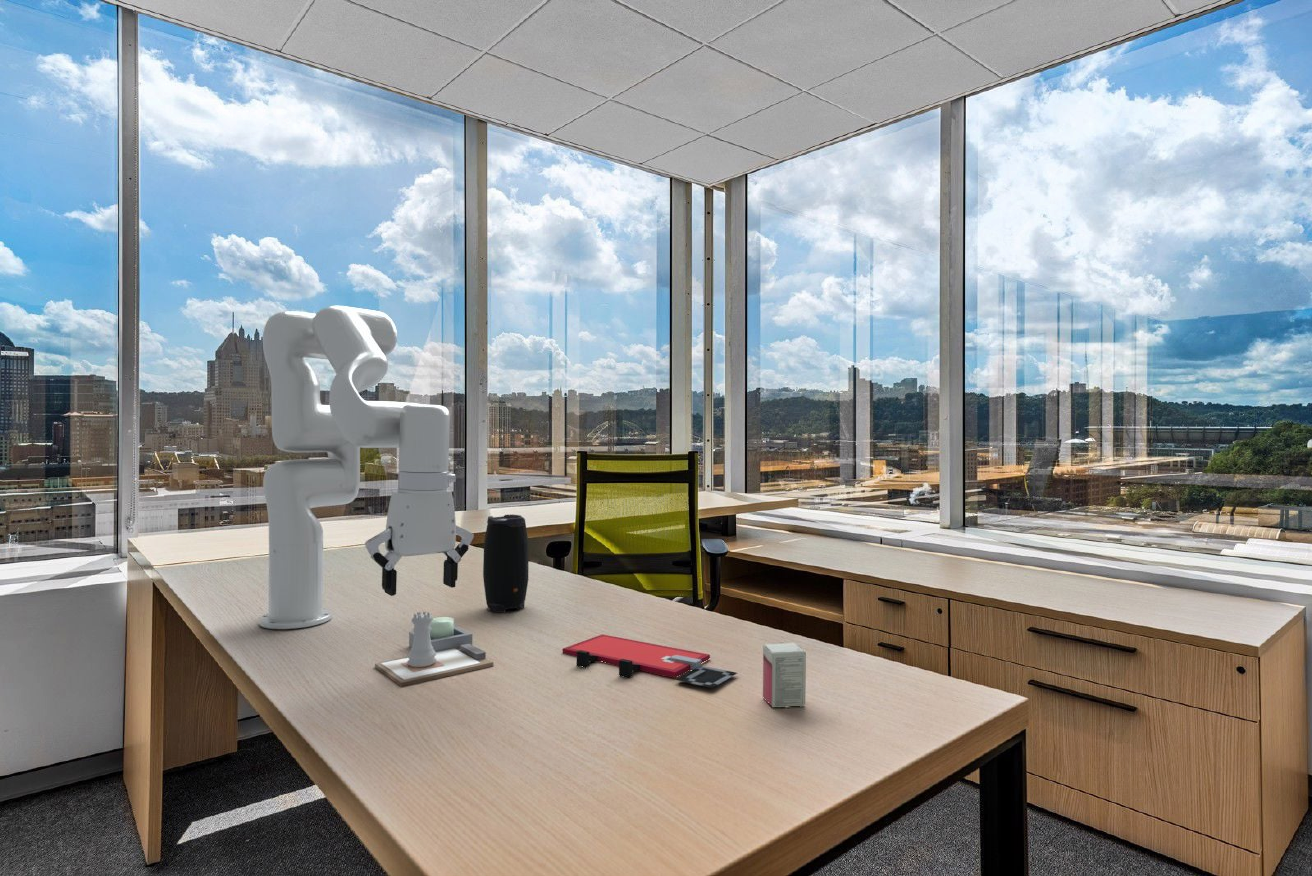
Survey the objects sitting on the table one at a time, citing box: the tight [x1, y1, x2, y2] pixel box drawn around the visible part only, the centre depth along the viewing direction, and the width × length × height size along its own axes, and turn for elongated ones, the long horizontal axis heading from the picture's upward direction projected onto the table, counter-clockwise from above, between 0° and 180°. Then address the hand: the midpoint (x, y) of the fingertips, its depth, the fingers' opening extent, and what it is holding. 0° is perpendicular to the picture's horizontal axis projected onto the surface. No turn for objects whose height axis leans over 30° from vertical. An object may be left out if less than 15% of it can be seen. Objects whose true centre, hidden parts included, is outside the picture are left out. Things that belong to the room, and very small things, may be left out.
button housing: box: [408, 624, 473, 652], centre depth 125 cm, size 8×8×2 cm
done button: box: [430, 616, 455, 640], centre depth 125 cm, size 4×4×3 cm
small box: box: [762, 642, 807, 708], centre depth 102 cm, size 5×4×8 cm
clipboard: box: [374, 644, 494, 688], centre depth 115 cm, size 11×15×2 cm
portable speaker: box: [482, 514, 530, 613], centre depth 152 cm, size 9×9×20 cm
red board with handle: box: [562, 634, 738, 689], centre depth 118 cm, size 30×3×15 cm
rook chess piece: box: [407, 611, 436, 668], centre depth 114 cm, size 4×4×8 cm
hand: (420, 589), depth 114 cm, fingers open, 9 cm apart
